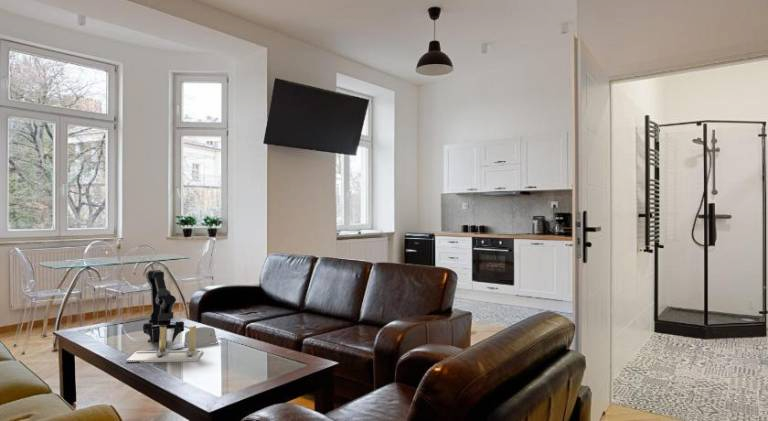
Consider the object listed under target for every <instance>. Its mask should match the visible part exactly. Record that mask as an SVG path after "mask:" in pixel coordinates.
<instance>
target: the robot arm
mask: <svg viewBox="0 0 768 421" xmlns="http://www.w3.org/2000/svg"><path fill="white" fill-rule="evenodd" d="M145 279H146V280H147V283H148V285H149V286H150V297H151V300H150V301H151V312H150V315H149V316H148V320H147V322H145V323H143V325H142V331H143V334H145V335H147V336H149V339H148V340H147V342H149V343H150V342H151V344H153V343H154V342H159V335H160V327H161V326H166V330H170V329H171V330H173V334H172V337H171V338H172V339H171V342H172V343H174V341H175V340H176V338H177V336H178V335H179V334H181V333H182V332H184V331H185V321H175V324H171V323H172V320H173V319H174V311H173V309H174V306H175V304H176V301H177V298H176V297H175V296H174V295H173V294H171V291H170V290H168V289H167V286H166V281H165V271H162V270H161V269H153V270H150V269H149V270H148V272H146V273H145Z"/></svg>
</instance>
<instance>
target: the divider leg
mask: <svg viewBox="0 0 768 421" xmlns="http://www.w3.org/2000/svg"><path fill="white" fill-rule="evenodd" d="M158 342H159V343H158V350H156V351H157V352H156V355H159V356H161V355H166V354H167V353H168V351H169V349H168V348H167V347H166V346H167V329H166V326H161V327H160V335H159V341H158Z"/></svg>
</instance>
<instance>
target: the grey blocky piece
mask: <svg viewBox="0 0 768 421" xmlns="http://www.w3.org/2000/svg"><path fill="white" fill-rule="evenodd" d="M189 331H190V329H188V331H185V333H184V334H185V335H184V343H183V344H184V347H186V348H188V349H189ZM216 342H217V343H218V340H217V335H216V331H215V328H213V327H207V326H202V327H201V326H199V327H196V344H195V347H201V346H200V345H202V346H208V345H207V344H209V345H212V344H211V343H216ZM217 343H216V344H217Z"/></svg>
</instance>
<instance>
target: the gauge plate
mask: <svg viewBox="0 0 768 421" xmlns="http://www.w3.org/2000/svg"><path fill="white" fill-rule="evenodd" d="M196 328H197V325H190V326H189V330H190V331H189V330H188V331H189V347H188V349H186V350H185V349H184V350H182V349H180V350H168V353H167V354H166V355H161V356H159V355H156V352H157V351H158V350H139V351H138V350H136V351H135V352H134V353H132V355H130V356H129V357H128V358H127V359H126V360H127V361H128V360H129V361H130V360H131V361H132V360H133V361H144V362H143V363H172V362H173V363H175V362H176V363H177V362H178V363H180V362H181V363H182V362H197V361H198V360H199V359H200V357H201V356H202V354H203V353H204V350H203V349H199V348H196V346H195V344H196Z"/></svg>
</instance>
